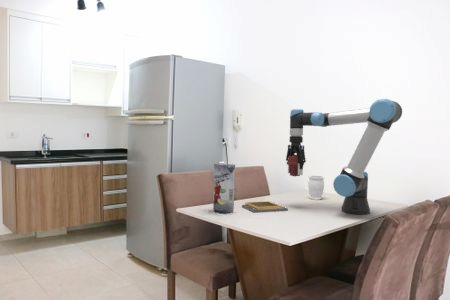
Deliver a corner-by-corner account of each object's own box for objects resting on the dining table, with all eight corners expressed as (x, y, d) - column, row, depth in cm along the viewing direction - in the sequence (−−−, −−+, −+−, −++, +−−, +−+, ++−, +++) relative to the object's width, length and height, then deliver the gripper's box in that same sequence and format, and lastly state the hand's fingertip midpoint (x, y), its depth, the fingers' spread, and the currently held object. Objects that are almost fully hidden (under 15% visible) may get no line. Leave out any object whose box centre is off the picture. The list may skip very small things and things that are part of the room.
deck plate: (287, 210, 207) (288, 205, 207) (254, 212, 199) (254, 207, 199) (273, 205, 222) (273, 200, 222) (241, 207, 214) (241, 202, 214)
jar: (325, 200, 245) (326, 177, 244) (309, 199, 245) (310, 177, 244) (321, 197, 255) (322, 175, 255) (306, 197, 255) (307, 175, 255)
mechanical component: (303, 175, 221) (303, 177, 211) (286, 174, 223) (286, 176, 213) (304, 154, 221) (304, 155, 211) (287, 154, 223) (286, 155, 213)
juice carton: (222, 209, 207) (223, 160, 206) (236, 212, 200) (237, 162, 199) (210, 211, 201) (211, 161, 200) (224, 214, 193) (225, 162, 192)
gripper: (280, 135, 225) (279, 172, 226) (301, 135, 204) (300, 176, 205) (291, 135, 228) (290, 171, 229) (313, 136, 207) (311, 175, 208)
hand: (295, 173), depth 217 cm, fingers closed on mechanical component, 10 cm apart
